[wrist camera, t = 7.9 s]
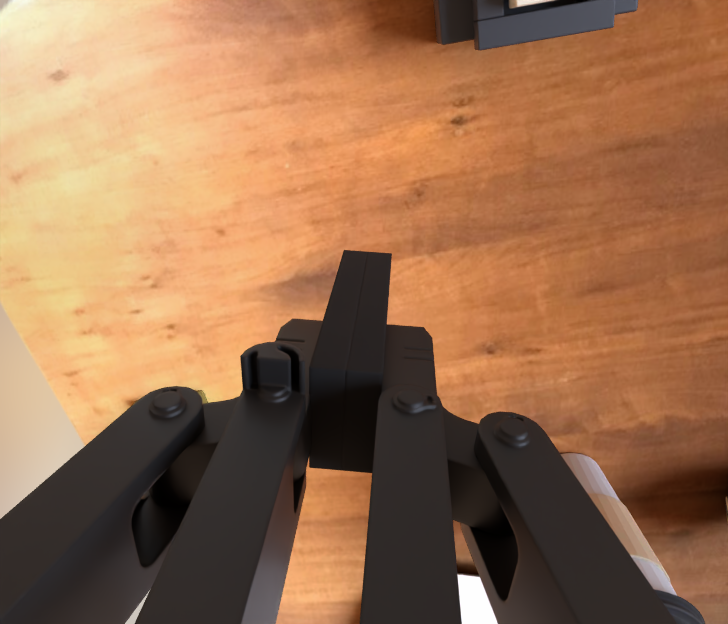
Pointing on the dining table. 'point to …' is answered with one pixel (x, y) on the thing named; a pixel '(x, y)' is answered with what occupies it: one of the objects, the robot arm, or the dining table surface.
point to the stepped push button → (522, 20)
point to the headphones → (727, 508)
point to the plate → (474, 601)
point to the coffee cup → (630, 536)
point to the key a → (525, 2)
